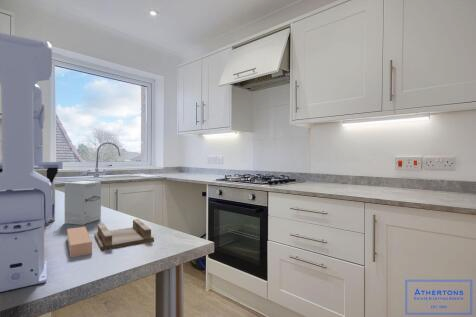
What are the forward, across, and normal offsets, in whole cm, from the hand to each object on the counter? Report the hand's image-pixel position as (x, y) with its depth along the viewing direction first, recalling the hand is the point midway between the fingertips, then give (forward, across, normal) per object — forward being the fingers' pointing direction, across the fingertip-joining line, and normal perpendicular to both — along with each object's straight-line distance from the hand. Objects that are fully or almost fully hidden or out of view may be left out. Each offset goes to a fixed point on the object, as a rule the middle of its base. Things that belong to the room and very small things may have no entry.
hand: (29, 197), depth 70 cm
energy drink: (+10, -3, -14) cm, 18 cm away
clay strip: (+10, -10, +16) cm, 22 cm away
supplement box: (+10, -13, -8) cm, 18 cm away
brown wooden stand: (+10, -20, +16) cm, 28 cm away
